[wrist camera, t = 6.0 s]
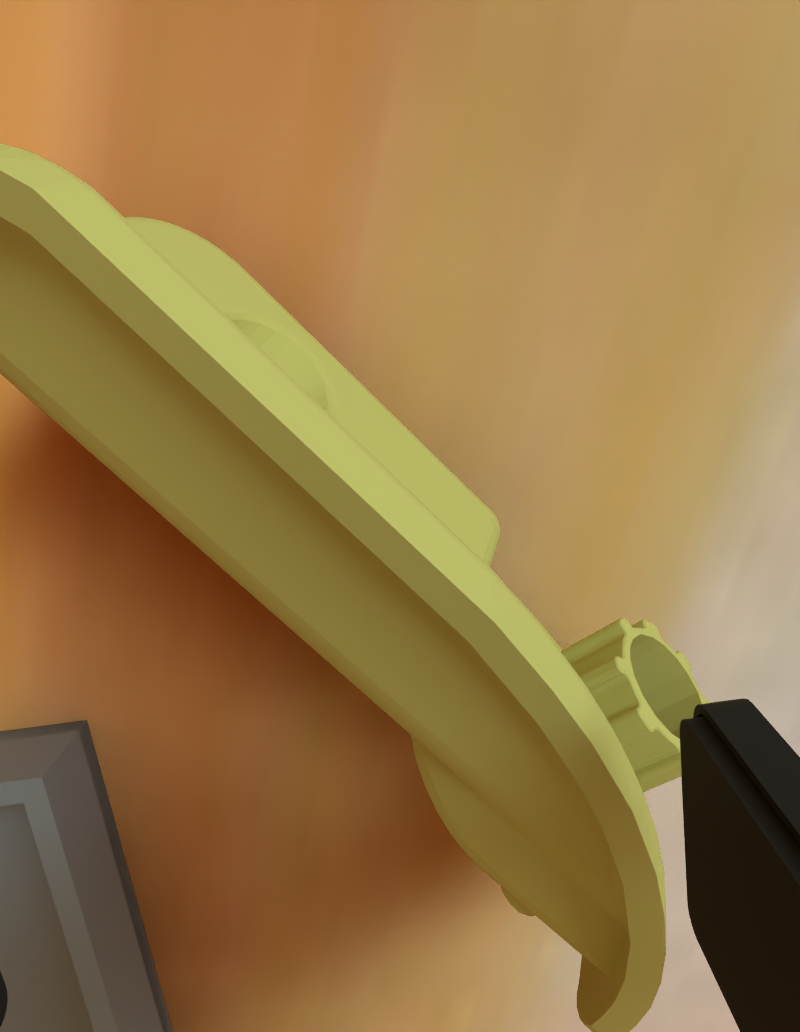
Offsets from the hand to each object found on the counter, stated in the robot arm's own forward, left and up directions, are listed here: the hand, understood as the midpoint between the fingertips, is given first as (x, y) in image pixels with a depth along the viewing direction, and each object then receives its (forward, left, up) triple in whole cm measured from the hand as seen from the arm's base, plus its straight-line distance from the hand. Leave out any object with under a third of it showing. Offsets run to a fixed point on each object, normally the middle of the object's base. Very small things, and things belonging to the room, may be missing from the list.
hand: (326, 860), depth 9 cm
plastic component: (-2, +3, -12) cm, 13 cm away
